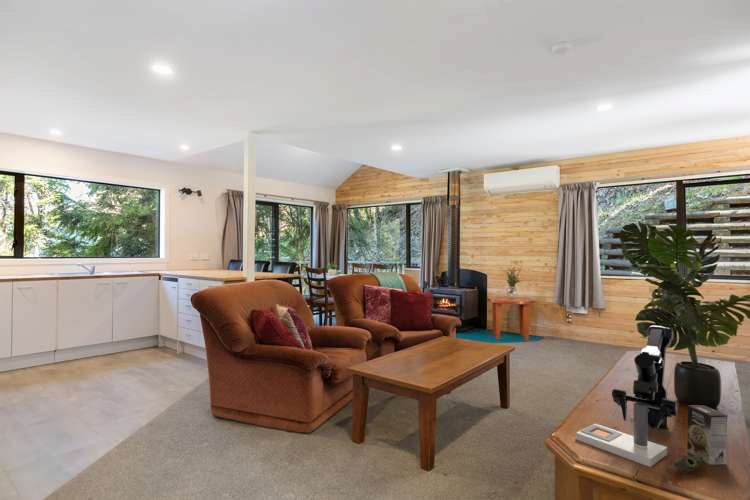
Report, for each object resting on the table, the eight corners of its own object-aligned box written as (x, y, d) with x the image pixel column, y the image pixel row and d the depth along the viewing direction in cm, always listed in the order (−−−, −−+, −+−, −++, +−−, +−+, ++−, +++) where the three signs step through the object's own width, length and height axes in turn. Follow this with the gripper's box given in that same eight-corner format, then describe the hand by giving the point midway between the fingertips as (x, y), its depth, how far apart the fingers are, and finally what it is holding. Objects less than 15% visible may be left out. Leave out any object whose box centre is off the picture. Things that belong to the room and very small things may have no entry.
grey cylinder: (645, 444, 145) (645, 403, 145) (649, 449, 141) (649, 407, 141) (632, 443, 146) (632, 402, 146) (635, 448, 142) (635, 406, 142)
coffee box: (686, 451, 145) (686, 404, 145) (703, 451, 146) (704, 404, 146) (709, 465, 136) (709, 415, 136) (727, 464, 137) (728, 414, 137)
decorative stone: (702, 483, 126) (703, 466, 126) (671, 474, 130) (671, 458, 130) (702, 468, 134) (703, 452, 134) (673, 461, 139) (673, 445, 139)
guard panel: (576, 439, 154) (576, 431, 154) (594, 430, 162) (594, 422, 162) (650, 467, 135) (650, 458, 135) (667, 454, 143) (667, 446, 143)
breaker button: (591, 438, 154) (591, 432, 154) (597, 434, 157) (597, 429, 157) (604, 443, 150) (604, 437, 150) (610, 439, 153) (610, 434, 153)
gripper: (613, 365, 152) (605, 404, 144) (676, 376, 140) (671, 419, 132) (618, 382, 158) (610, 421, 150) (679, 394, 146) (674, 436, 138)
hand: (640, 424), depth 142 cm, fingers open, 9 cm apart
